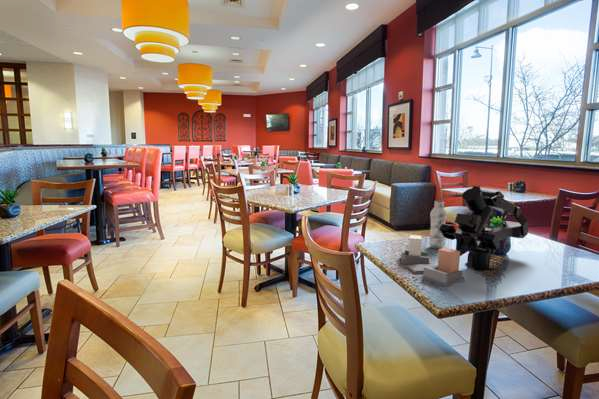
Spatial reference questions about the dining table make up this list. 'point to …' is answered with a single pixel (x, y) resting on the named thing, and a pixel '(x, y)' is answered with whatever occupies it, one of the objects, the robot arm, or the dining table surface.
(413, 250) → the cream key
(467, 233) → the robot arm
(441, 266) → the terracotta key
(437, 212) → the plastic bottle
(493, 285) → the dining table surface
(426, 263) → the grey tray
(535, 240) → the dining table surface
